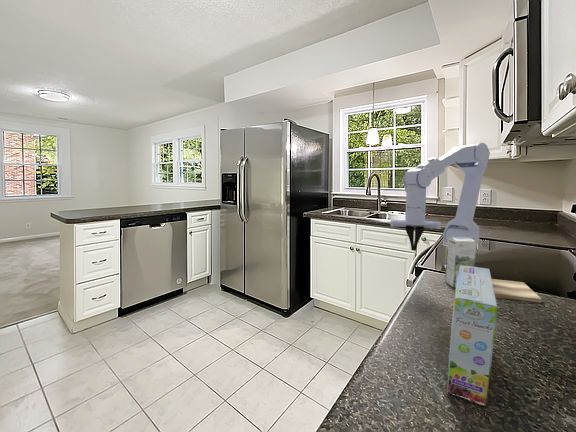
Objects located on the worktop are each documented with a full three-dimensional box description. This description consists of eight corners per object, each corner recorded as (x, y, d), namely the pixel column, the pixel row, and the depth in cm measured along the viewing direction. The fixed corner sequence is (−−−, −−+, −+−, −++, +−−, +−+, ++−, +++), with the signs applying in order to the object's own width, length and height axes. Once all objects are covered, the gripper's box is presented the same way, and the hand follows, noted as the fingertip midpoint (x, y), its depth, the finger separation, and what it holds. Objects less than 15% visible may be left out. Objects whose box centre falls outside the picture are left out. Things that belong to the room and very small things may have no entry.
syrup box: (463, 282, 92) (466, 236, 90) (473, 288, 86) (476, 240, 84) (444, 281, 92) (447, 236, 91) (453, 288, 86) (455, 240, 85)
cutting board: (469, 279, 94) (469, 276, 94) (523, 285, 88) (523, 282, 88) (478, 295, 81) (478, 291, 81) (541, 302, 76) (542, 299, 76)
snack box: (491, 411, 40) (499, 306, 38) (445, 395, 43) (451, 297, 41) (485, 340, 58) (490, 266, 56) (452, 333, 61) (456, 262, 59)
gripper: (390, 207, 91) (388, 250, 92) (442, 209, 85) (440, 254, 87) (391, 206, 97) (390, 246, 99) (440, 207, 92) (438, 249, 93)
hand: (413, 249), depth 93 cm, fingers closed
